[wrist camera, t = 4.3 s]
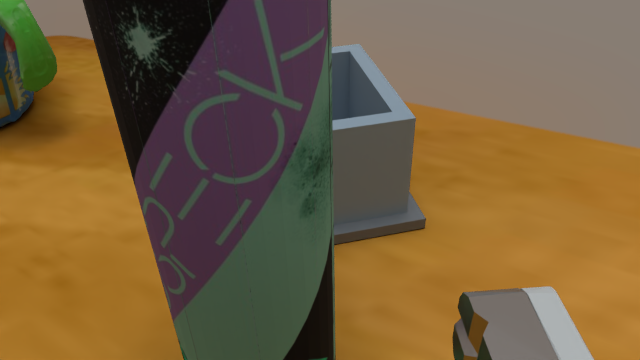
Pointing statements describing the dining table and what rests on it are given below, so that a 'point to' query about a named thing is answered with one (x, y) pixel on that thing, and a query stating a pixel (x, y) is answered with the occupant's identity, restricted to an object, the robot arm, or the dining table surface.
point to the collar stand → (370, 151)
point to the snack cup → (21, 59)
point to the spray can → (231, 165)
